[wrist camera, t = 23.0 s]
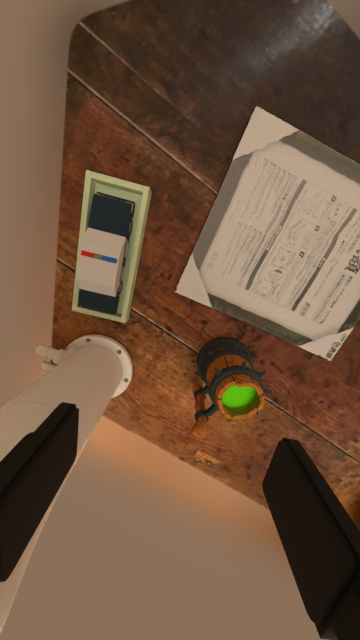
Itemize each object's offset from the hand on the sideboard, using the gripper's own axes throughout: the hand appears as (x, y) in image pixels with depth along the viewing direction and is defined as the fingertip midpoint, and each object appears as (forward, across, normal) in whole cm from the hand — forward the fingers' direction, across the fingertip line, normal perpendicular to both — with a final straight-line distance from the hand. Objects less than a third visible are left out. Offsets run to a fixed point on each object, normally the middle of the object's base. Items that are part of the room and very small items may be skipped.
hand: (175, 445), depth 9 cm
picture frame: (+24, -16, -13) cm, 32 cm away
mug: (+24, -8, +8) cm, 27 cm away
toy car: (+24, +12, -7) cm, 28 cm away
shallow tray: (+24, +12, -8) cm, 28 cm away
